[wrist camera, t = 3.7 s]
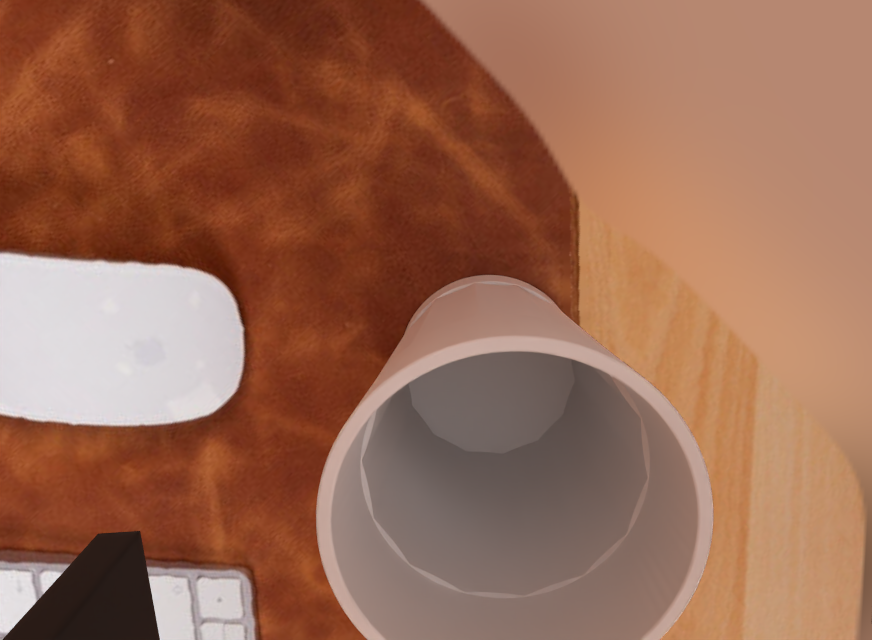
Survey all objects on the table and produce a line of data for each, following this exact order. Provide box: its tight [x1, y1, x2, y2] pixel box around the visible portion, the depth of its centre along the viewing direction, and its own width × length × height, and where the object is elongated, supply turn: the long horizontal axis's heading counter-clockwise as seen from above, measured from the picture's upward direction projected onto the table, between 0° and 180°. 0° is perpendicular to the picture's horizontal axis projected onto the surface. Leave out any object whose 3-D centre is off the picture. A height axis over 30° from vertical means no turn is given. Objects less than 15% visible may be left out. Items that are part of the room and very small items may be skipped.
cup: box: [316, 275, 713, 640], centre depth 21 cm, size 8×8×12 cm
